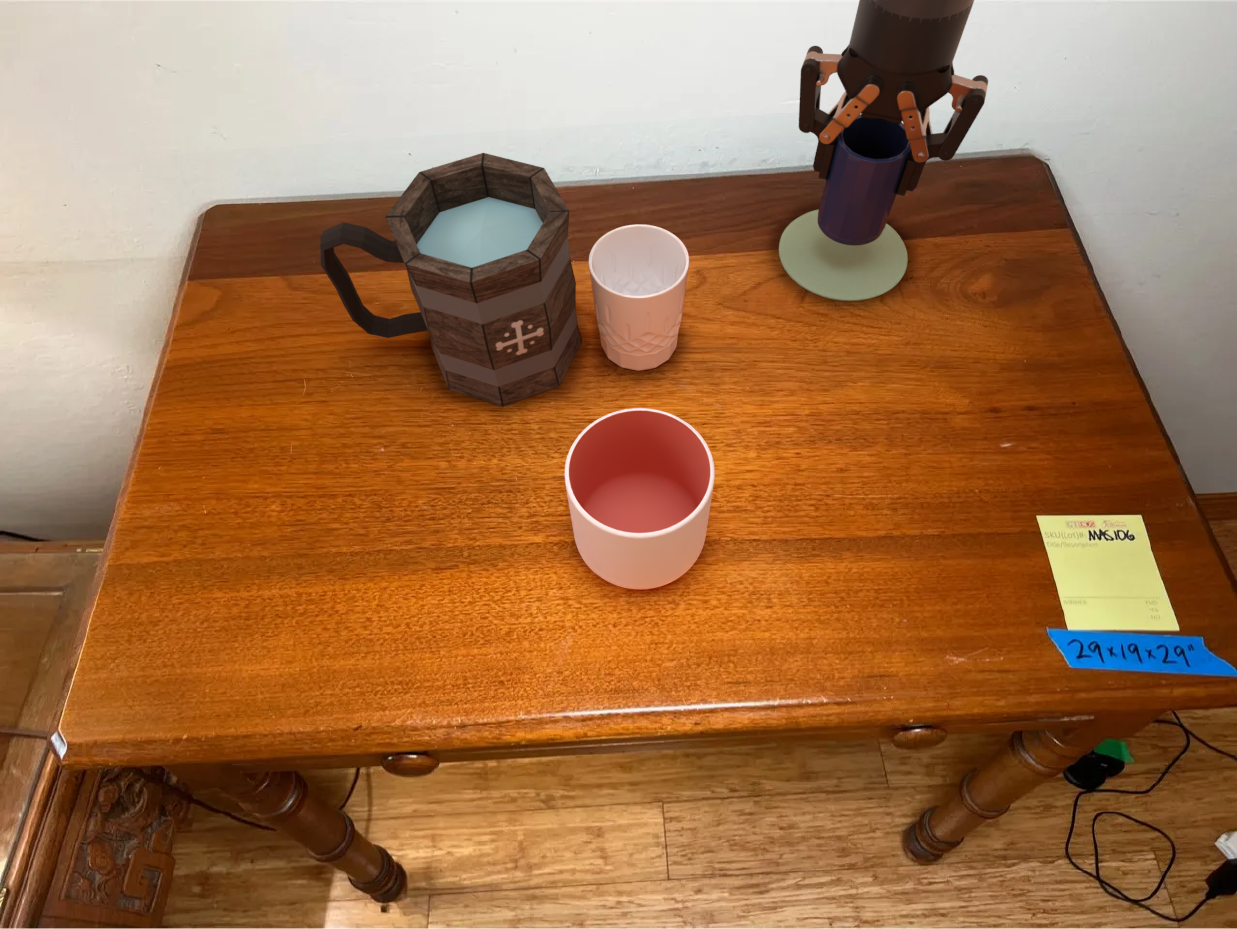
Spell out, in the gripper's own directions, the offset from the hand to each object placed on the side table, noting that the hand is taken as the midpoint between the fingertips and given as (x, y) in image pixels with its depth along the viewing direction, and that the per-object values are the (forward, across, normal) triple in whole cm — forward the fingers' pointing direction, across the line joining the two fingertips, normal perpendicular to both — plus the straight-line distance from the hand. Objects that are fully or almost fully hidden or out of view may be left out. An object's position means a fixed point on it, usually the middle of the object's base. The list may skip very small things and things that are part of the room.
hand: (863, 180), depth 70 cm
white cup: (+9, -15, -16) cm, 24 cm away
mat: (+8, 0, 0) cm, 8 cm away
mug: (+9, -29, -21) cm, 37 cm away
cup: (+9, -9, -34) cm, 36 cm away
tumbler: (+5, 0, 0) cm, 5 cm away
